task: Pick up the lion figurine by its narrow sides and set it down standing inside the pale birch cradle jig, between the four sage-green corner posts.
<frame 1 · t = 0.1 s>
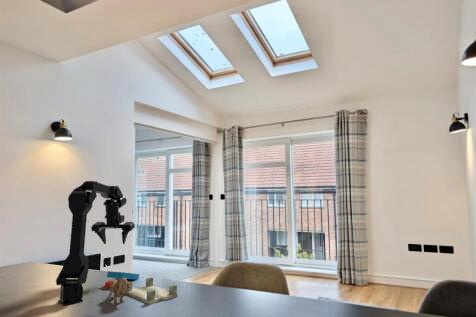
hand: (114, 243, 152), 15 cm above the table, tool pointing down, fingers open, 9 cm apart
cradle jig: (150, 294, 123), on the table
lion figurine: (117, 301, 116), on the table
lever: (120, 284, 140), on the table
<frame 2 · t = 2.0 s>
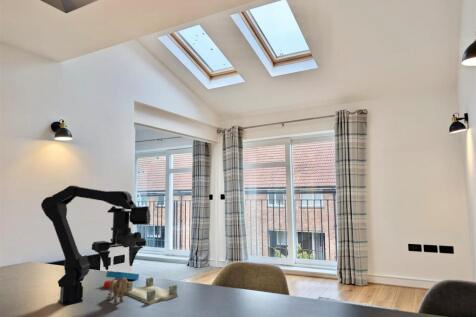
hand: (119, 267, 117), 12 cm above the table, tool pointing down, fingers open, 9 cm apart
nothing on the table moved.
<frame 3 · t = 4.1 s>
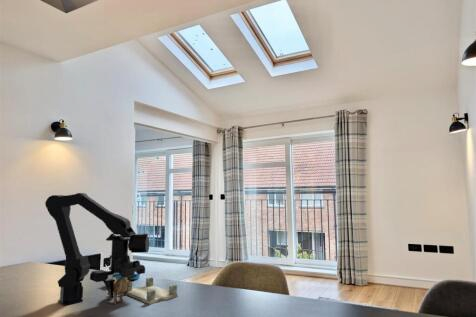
hand: (117, 296, 116), 1 cm above the table, tool pointing down, fingers closed on lion figurine, 4 cm apart
lion figurine: (117, 300, 117), on the table, touching gripper
everything else where it was.
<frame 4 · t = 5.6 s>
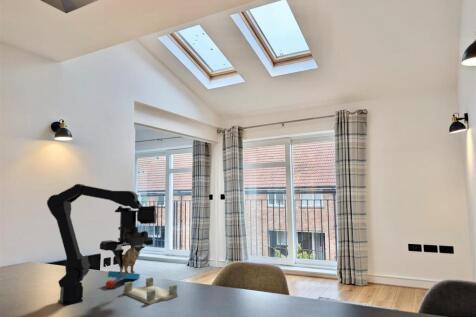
hand: (126, 266, 119), 12 cm above the table, tool pointing down, fingers closed on lion figurine, 4 cm apart
lion figurine: (128, 274, 119), point 9 cm above the table, touching gripper
everything else where it was.
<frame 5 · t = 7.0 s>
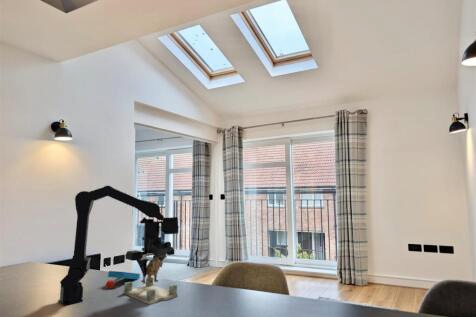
hand: (150, 275, 124), 7 cm above the table, tool pointing down, fingers closed on lion figurine, 4 cm apart
lion figurine: (152, 283, 124), point 4 cm above the table, touching gripper
everything else where it was.
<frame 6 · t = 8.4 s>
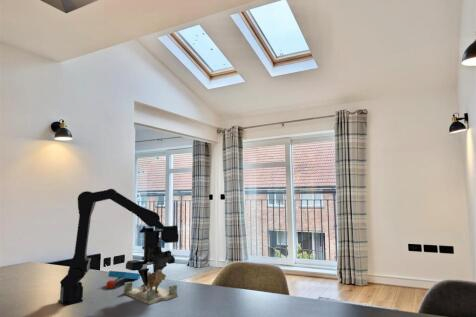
hand: (150, 284, 124), 4 cm above the table, tool pointing down, fingers closed on lion figurine, 4 cm apart
lion figurine: (152, 292, 124), point 1 cm above the table, touching cradle jig, gripper
everything else where it was.
when the fingers open (4 cm above the table, at t = 8.4 s): lion figurine stays where it is, resting on cradle jig.
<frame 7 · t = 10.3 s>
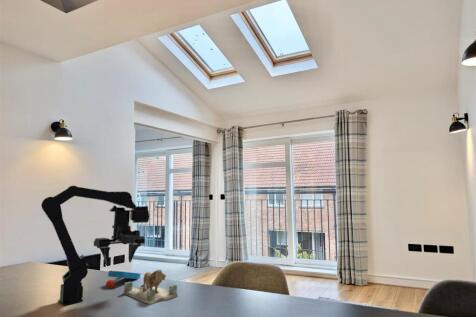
hand: (118, 263, 125), 12 cm above the table, tool pointing down, fingers open, 9 cm apart
lion figurine: (152, 292, 124), point 1 cm above the table, touching cradle jig
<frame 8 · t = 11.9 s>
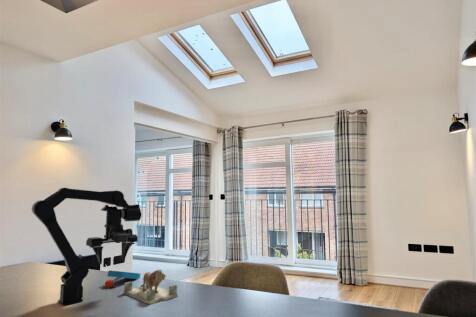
hand: (112, 262, 126), 12 cm above the table, tool pointing down, fingers open, 9 cm apart
at the end: lion figurine 0.7 cm off-centre on the cradle jig, point 0.8 cm above the cradle jig's base; lion figurine tilted 0°; the gripper is holding nothing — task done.
